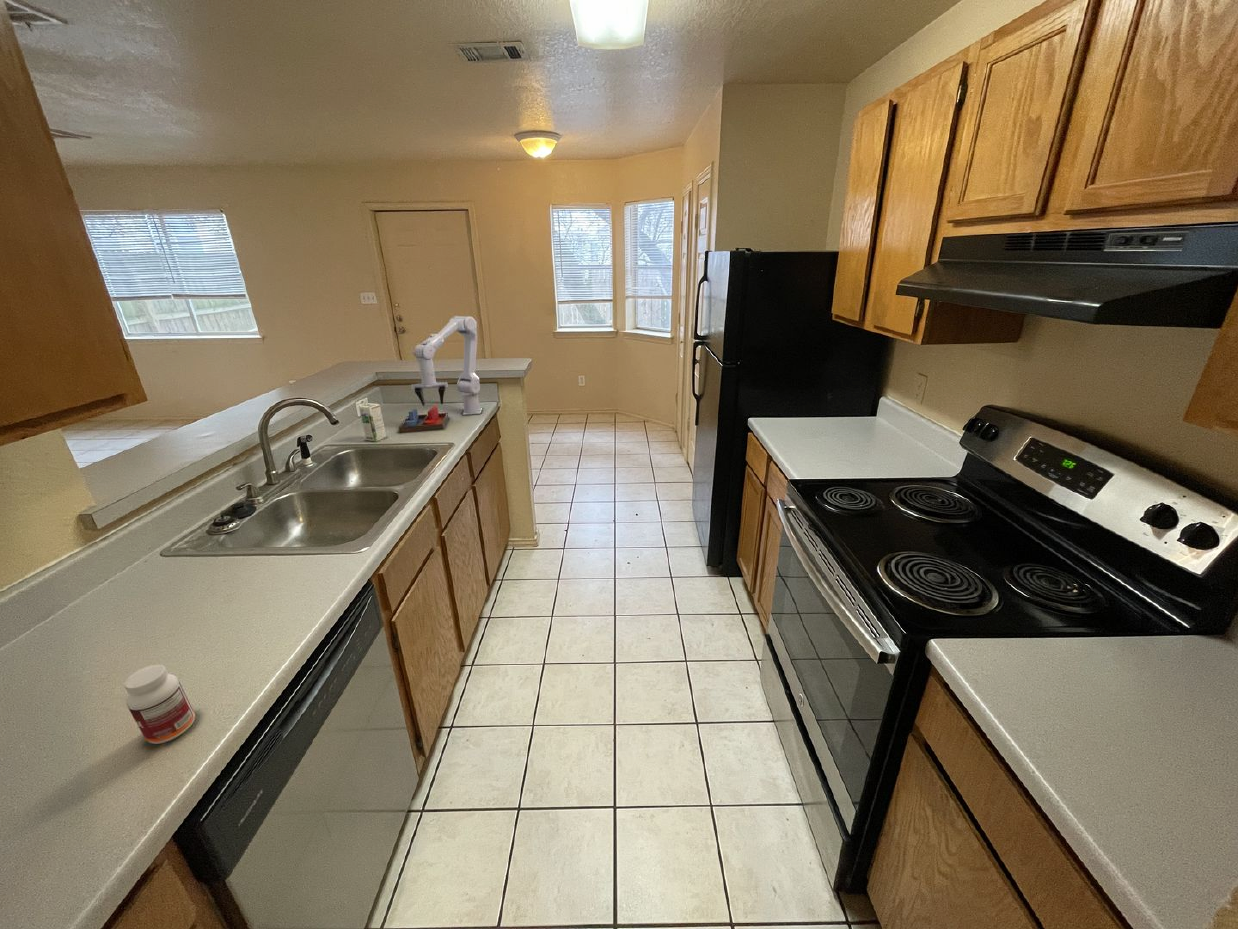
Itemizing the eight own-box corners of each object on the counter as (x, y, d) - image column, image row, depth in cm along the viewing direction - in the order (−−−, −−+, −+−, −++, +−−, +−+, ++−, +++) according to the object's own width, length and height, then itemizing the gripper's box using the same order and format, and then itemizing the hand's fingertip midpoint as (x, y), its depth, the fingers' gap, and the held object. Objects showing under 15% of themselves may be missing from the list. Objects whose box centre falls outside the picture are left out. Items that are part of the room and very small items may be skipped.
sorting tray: (408, 421, 231) (407, 415, 230) (448, 417, 233) (447, 412, 232) (399, 432, 215) (398, 427, 214) (443, 429, 218) (442, 423, 217)
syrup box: (365, 440, 207) (357, 406, 202) (376, 435, 212) (369, 402, 207) (376, 441, 205) (368, 407, 200) (387, 437, 210) (379, 403, 205)
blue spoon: (411, 421, 227) (409, 409, 226) (422, 420, 228) (420, 408, 226) (405, 426, 215) (402, 413, 213) (415, 425, 216) (413, 412, 214)
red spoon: (432, 417, 232) (430, 406, 229) (442, 417, 232) (440, 405, 230) (423, 426, 220) (421, 414, 218) (433, 426, 220) (431, 414, 218)
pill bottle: (149, 724, 81) (121, 672, 77) (197, 705, 84) (173, 654, 80) (143, 753, 76) (113, 699, 72) (194, 732, 79) (168, 679, 75)
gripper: (407, 376, 210) (413, 408, 216) (443, 374, 213) (448, 405, 218) (411, 373, 217) (417, 403, 222) (446, 370, 219) (451, 401, 224)
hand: (433, 404), depth 220 cm, fingers open, 7 cm apart
